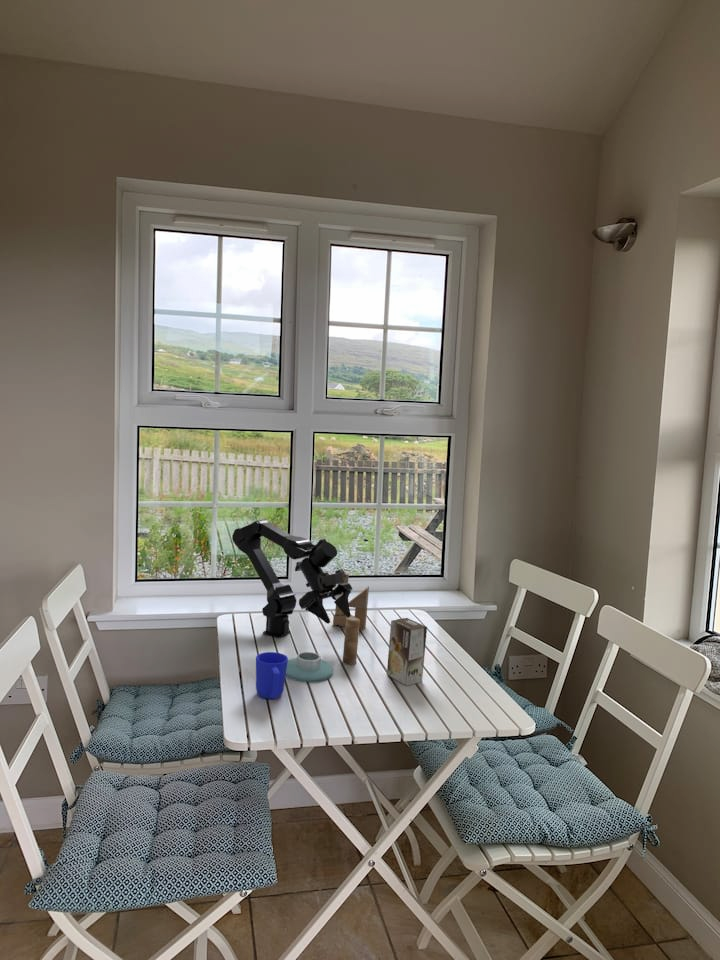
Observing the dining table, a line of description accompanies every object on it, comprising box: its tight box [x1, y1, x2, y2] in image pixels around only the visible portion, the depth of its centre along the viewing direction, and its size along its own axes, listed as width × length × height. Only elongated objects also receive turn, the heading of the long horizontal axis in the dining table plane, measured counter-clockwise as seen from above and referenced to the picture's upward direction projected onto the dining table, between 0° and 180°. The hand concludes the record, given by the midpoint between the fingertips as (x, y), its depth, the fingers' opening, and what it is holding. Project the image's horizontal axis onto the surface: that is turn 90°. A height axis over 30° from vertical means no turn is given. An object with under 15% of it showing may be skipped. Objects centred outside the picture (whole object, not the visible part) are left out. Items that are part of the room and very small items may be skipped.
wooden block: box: [332, 571, 370, 630], centre depth 251 cm, size 4×11×18 cm, turn 79°
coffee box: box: [386, 617, 428, 686], centre depth 210 cm, size 9×6×16 cm
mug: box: [255, 651, 289, 700], centre depth 190 cm, size 8×12×10 cm
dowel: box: [342, 617, 360, 666], centre depth 219 cm, size 4×4×13 cm
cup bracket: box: [285, 651, 334, 683], centre depth 210 cm, size 14×14×4 cm
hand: (339, 619), depth 222 cm, fingers open, 9 cm apart
